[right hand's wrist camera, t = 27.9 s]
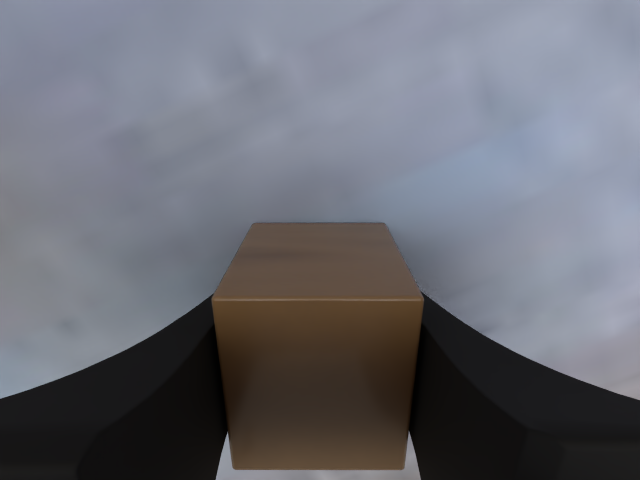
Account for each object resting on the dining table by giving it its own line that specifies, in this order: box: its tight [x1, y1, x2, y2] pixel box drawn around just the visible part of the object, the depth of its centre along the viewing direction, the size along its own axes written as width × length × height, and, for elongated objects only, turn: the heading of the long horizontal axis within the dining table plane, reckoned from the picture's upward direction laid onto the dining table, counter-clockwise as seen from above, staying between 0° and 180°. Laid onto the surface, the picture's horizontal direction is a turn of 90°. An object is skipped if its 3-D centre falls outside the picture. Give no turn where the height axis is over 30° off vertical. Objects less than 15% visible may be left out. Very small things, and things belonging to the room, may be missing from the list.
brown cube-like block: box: [211, 223, 424, 470], centre depth 10 cm, size 5×4×5 cm
